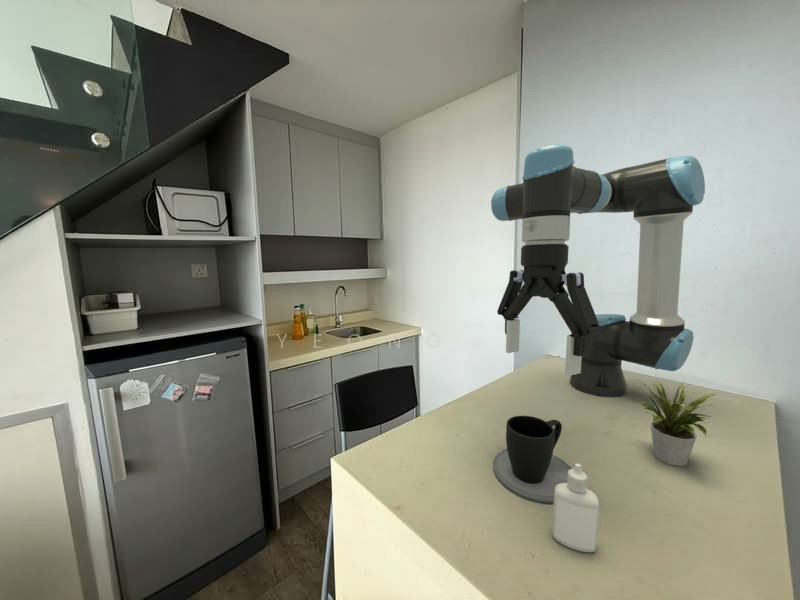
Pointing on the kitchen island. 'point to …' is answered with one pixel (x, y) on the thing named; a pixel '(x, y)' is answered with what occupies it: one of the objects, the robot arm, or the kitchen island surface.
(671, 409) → the house plant
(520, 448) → the mug
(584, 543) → the eye dropper bottle
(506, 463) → the round gray plate
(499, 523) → the kitchen island surface
